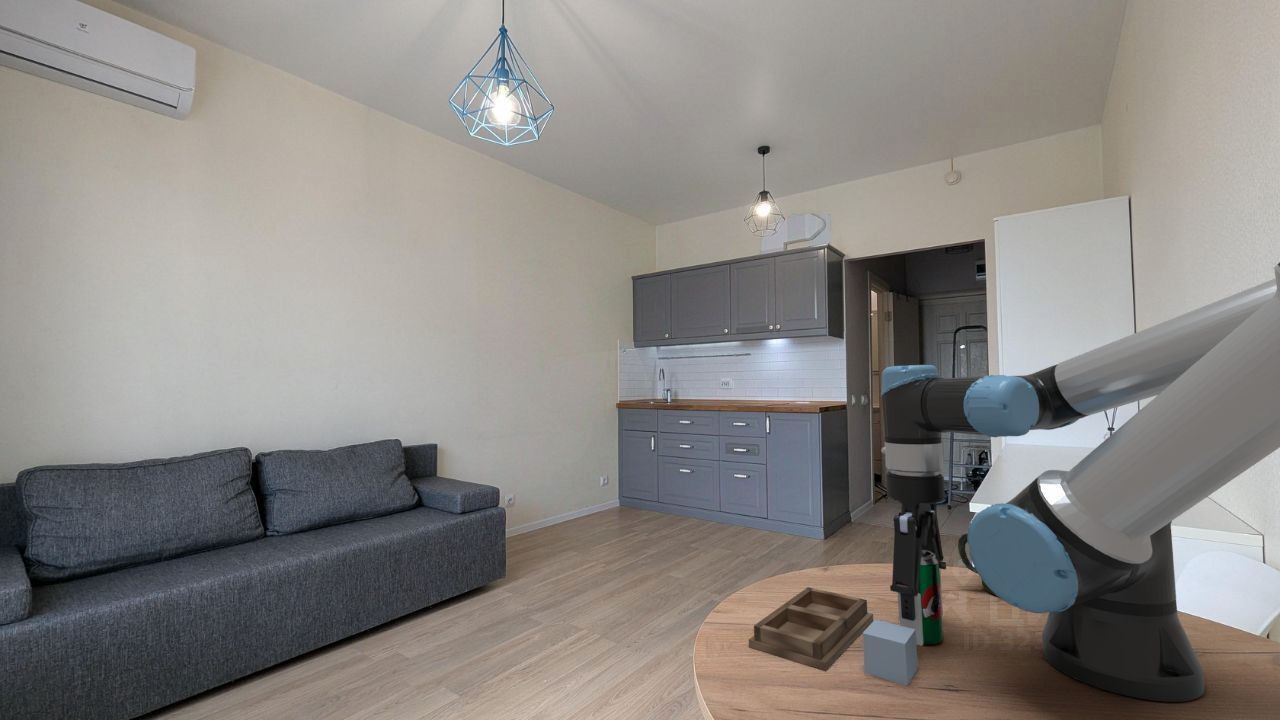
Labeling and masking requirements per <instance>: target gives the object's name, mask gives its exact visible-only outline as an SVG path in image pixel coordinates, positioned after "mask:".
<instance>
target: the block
mask: <svg viewBox="0 0 1280 720" xmlns="http://www.w3.org/2000/svg"><path fill="white" fill-rule="evenodd" d="M917 646H918V645H917V644H916V629H912V628H908V627H904V626H900V625H899V624H895V623H891V622H886V621H882V620H879V619H878V620H877V619H873V621H872V622H871V623H870V624H869V626H868V627H867V628H866V629H865V630H864V631H863V632H862V648H863V665H864V667H863V668H864V669H863V670H864V674H866V675H870V676H873V677H876V678H880V679H883V680H887V681H890V682H893V683H897V684H900V685H904V686H906V687H907V686H909V684H910V682H911V681H912V679H913V677H914V676H915V674H916V672H917V671H918V668H919V667H918V651H917V649H918V648H917Z"/></svg>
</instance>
